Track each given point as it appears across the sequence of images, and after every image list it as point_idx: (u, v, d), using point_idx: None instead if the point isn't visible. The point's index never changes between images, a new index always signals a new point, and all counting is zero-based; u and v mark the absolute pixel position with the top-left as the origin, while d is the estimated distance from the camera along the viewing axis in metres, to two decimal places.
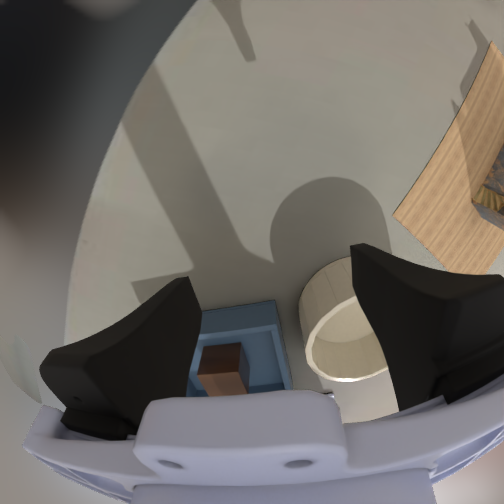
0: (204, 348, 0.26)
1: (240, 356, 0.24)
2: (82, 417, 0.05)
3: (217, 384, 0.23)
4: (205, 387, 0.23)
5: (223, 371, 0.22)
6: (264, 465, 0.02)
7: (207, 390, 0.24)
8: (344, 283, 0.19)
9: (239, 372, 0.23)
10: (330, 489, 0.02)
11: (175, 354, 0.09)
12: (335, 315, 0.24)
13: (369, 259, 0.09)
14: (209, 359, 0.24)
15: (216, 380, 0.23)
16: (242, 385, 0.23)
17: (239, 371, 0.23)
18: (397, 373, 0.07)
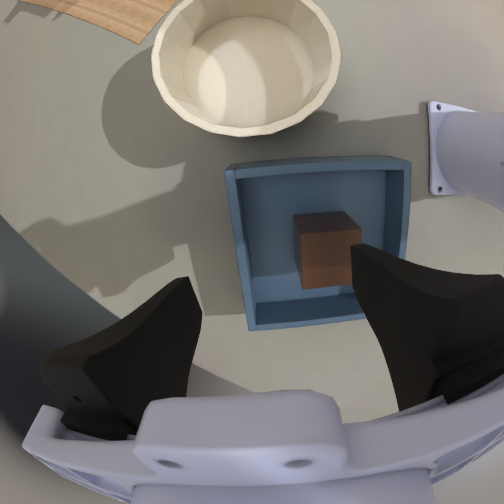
0: None
1: (299, 222, 0.18)
2: (82, 417, 0.05)
3: (325, 267, 0.17)
4: (330, 284, 0.18)
5: (300, 253, 0.17)
6: (264, 465, 0.02)
7: (338, 283, 0.17)
8: None
9: (305, 232, 0.16)
10: (330, 489, 0.02)
11: (175, 354, 0.09)
12: (259, 88, 0.16)
13: (369, 259, 0.09)
14: (297, 263, 0.19)
15: (317, 267, 0.17)
16: (334, 232, 0.16)
17: (304, 231, 0.16)
18: (397, 373, 0.07)
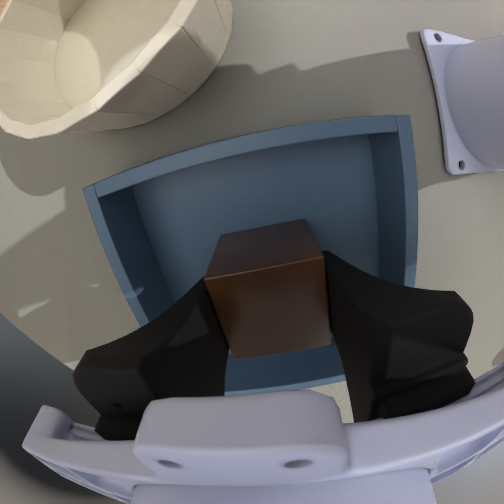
0: None
1: (219, 250, 0.11)
2: (121, 425, 0.05)
3: (264, 328, 0.10)
4: (281, 350, 0.10)
5: (215, 308, 0.10)
6: (264, 465, 0.02)
7: (293, 348, 0.10)
8: None
9: (214, 273, 0.09)
10: (330, 489, 0.02)
11: (214, 351, 0.09)
12: None
13: (325, 268, 0.09)
14: None
15: (249, 328, 0.10)
16: (267, 269, 0.09)
17: (214, 272, 0.09)
18: (351, 386, 0.07)
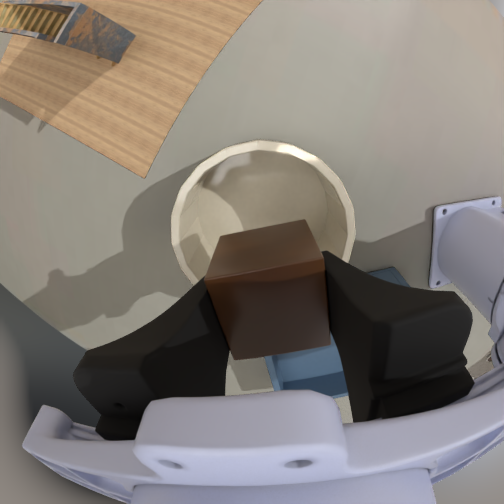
0: None
1: (219, 250, 0.11)
2: (122, 425, 0.05)
3: (264, 328, 0.10)
4: (280, 351, 0.10)
5: (215, 309, 0.10)
6: (264, 465, 0.02)
7: (293, 348, 0.10)
8: None
9: (214, 274, 0.09)
10: (330, 489, 0.02)
11: (215, 351, 0.09)
12: None
13: (325, 268, 0.09)
14: None
15: (248, 329, 0.10)
16: (267, 270, 0.09)
17: (214, 272, 0.09)
18: (350, 386, 0.07)
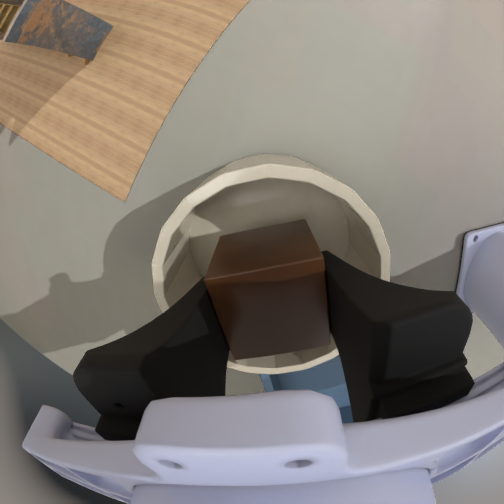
0: None
1: (219, 250, 0.11)
2: (122, 425, 0.05)
3: (264, 328, 0.10)
4: (280, 351, 0.10)
5: (215, 308, 0.10)
6: (264, 465, 0.02)
7: (293, 348, 0.10)
8: None
9: (214, 274, 0.09)
10: (330, 489, 0.02)
11: (215, 351, 0.09)
12: None
13: (325, 268, 0.09)
14: None
15: (248, 328, 0.10)
16: (267, 270, 0.09)
17: (214, 272, 0.09)
18: (350, 386, 0.07)
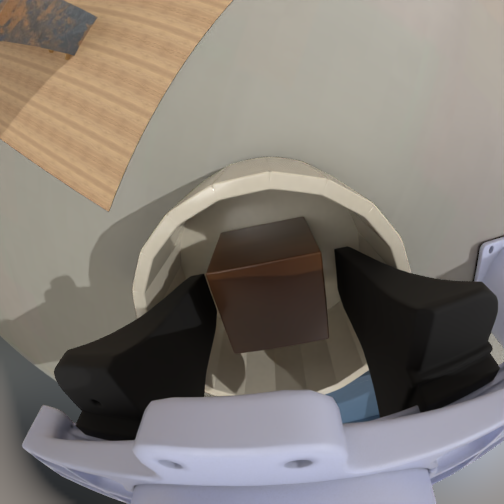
0: None
1: (220, 246, 0.11)
2: (100, 421, 0.05)
3: (263, 322, 0.10)
4: (280, 344, 0.10)
5: (216, 303, 0.10)
6: (264, 465, 0.02)
7: (292, 342, 0.10)
8: None
9: (216, 268, 0.09)
10: (330, 489, 0.02)
11: (193, 353, 0.09)
12: None
13: (350, 263, 0.09)
14: None
15: (249, 322, 0.10)
16: (266, 265, 0.09)
17: (215, 267, 0.09)
18: (377, 379, 0.07)
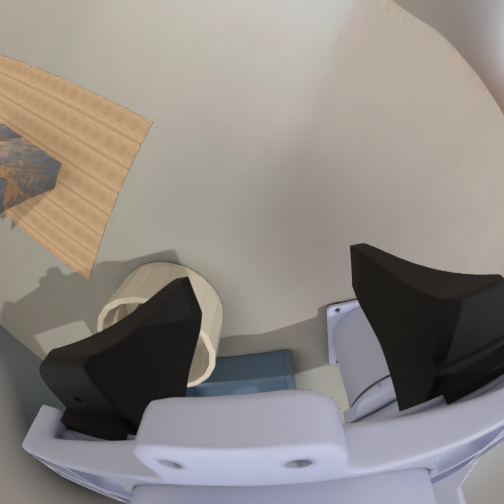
0: None
1: None
2: (82, 417, 0.05)
3: None
4: None
5: None
6: (264, 465, 0.02)
7: None
8: None
9: None
10: (330, 489, 0.02)
11: (175, 354, 0.09)
12: None
13: (369, 259, 0.09)
14: None
15: None
16: None
17: None
18: (397, 373, 0.07)
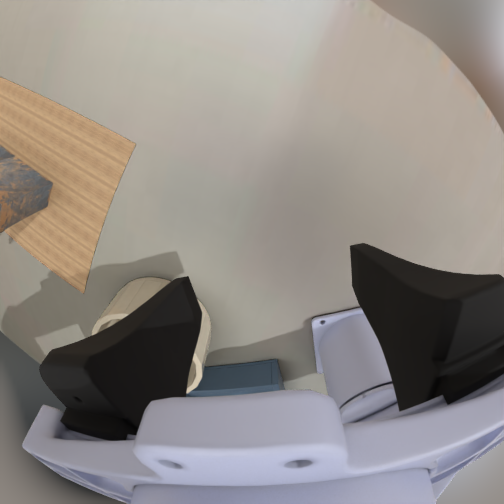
0: None
1: None
2: (81, 417, 0.05)
3: None
4: None
5: None
6: (264, 465, 0.02)
7: None
8: None
9: None
10: (330, 489, 0.02)
11: (175, 354, 0.09)
12: None
13: (369, 259, 0.09)
14: None
15: None
16: None
17: None
18: (397, 373, 0.07)
